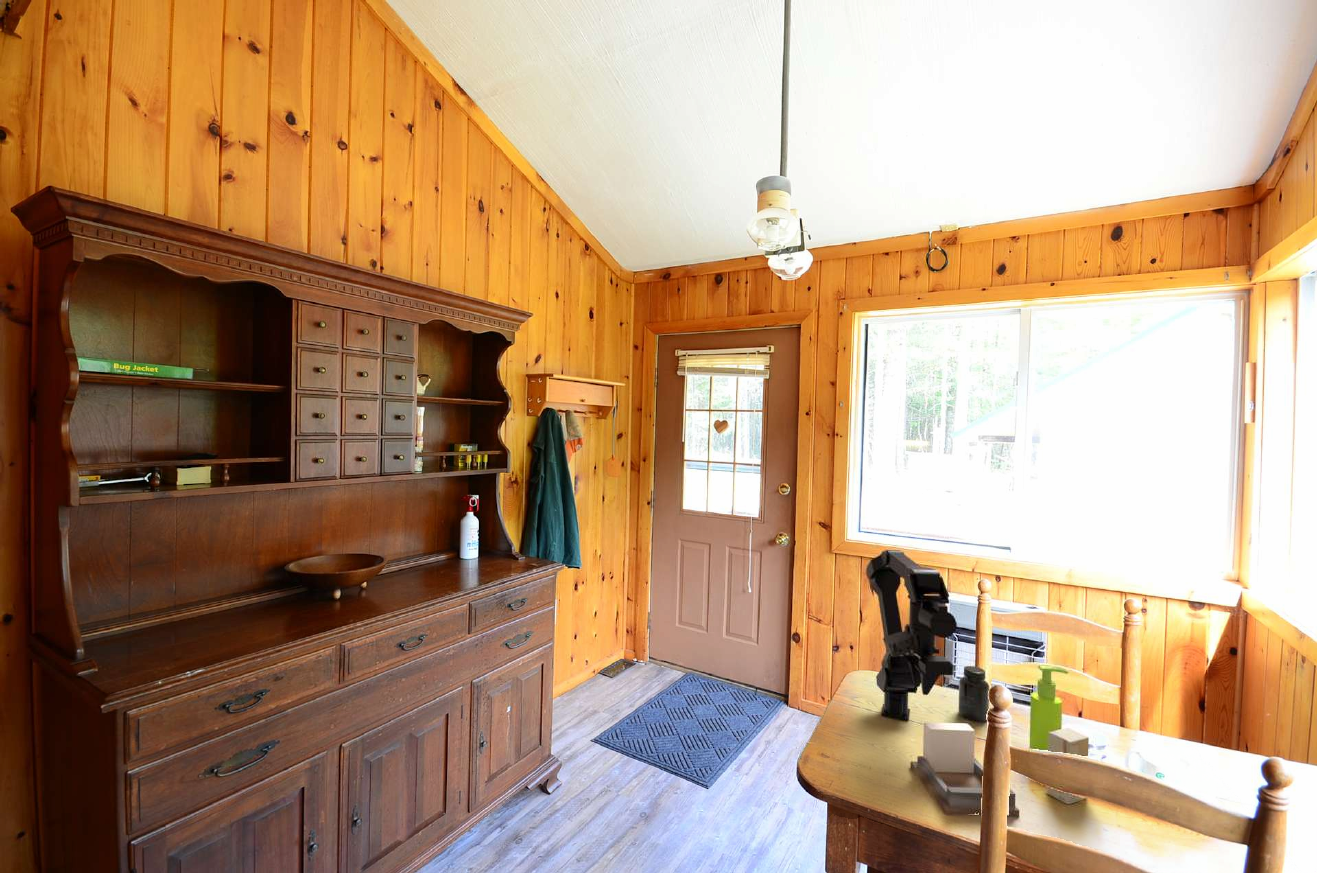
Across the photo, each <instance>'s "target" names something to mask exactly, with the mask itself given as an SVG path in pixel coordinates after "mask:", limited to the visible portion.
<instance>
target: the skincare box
mask: <svg viewBox="0 0 1317 873" xmlns="http://www.w3.org/2000/svg"><path fill="white" fill-rule="evenodd" d="M1089 738H1090V737H1089V736H1087V735H1084V734H1083V733H1080V732H1078V731H1076V730H1073V729H1071V728H1069V727H1065V728H1061V730H1056V731H1052V732H1049V737H1048V751H1051V752H1063V753H1070V754H1077V755H1081V756H1088V757H1089ZM1046 793H1047V794H1048V795H1050V796H1052V797H1054V798H1055V799H1057V800H1059V801H1061V802H1062V803H1065V804H1067V805H1070V804H1074V803H1076V802H1081V801H1082V800H1083V801H1084V800H1087V798H1081V797H1079V796H1075V795H1072V794H1069V793H1064V792H1061V791H1057V790H1055V789H1051V788H1050V787H1047V786H1046Z"/></svg>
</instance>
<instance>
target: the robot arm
mask: <svg viewBox="0 0 1317 873" xmlns="http://www.w3.org/2000/svg"><path fill="white" fill-rule="evenodd" d="M865 574H866V577H867V579H868V582H869V586H870V588H871V589H872V591H874V593H875V594H876V595H877V600H878V605H879V613H880V619H881V625H882V633H883V638H882V641H883V644H884V646H885V654H884V656H883V658H882V660H881V668H880V670H879V672H878V673H877V674H876V676H875V677H876V686H877V687H878V688H879V689H880V690H881V692H882V693H883V695H884V696H883V703H882V708H881V716H882V717H889V718H894V719H898V720H902V719H903V721H910V715H911V714H910V713H911V709H910V708H909V693H910V694H911V693H912V694H917V693H918V688H920V686H921V692H922V693H921V694H922V695H924V696H928V695H929V694H930V692H931V690H932V689H933V687H934V686H935V684H936V682H937V681H938V680H939V678H940V677H941V676H954V674H955V665H954V664H953V663H951V661H950V660H949V659H947V658H946V657H945V656H943V655H939V654H940V649H939V648H938V647H937V646H936V645H937V643H936V642H937V639H936V638H937V637H938V638H941V639H946V638H949V637H951V636H952V635H954V634H955V632H956V630H957V627H958V623H957V620H956V618H955V616H954V615H953V614H952V613H951V612H949V607H948V604H950V600H949V599H950V598H949V597H950V595H949V591H948V589H947V586H946V584H945V581H944V578H943V576H942V575H941V573H940V571H939V570H937V569H936V568H932V567H928V566H922V565H919V564H918V563H917V562H915V561H914V560H913V559H911V558H910V557H909V556H907V555H906V554H905V552H904V551H902V550H900V549H899V550H897V549H885V550H883V551H882V552H881V553H880V554H879V555H877V556H876V557H874V558H872V559H870V561H869V562H868V564H867V565H866V569H865ZM902 579H903V581H904V582H903V584H904V585H903V586H904V587H905V589H906V592H907V593H908V595H907V599H909V613H908V614H909V618H908V619H909V620H908V622H909V623H906V624H905V625H904V630H903V627H902V626H903V624H902V620H901V613H900V608H899V601H898V596H897V593H898V591H899V588H900V586H901V584H902ZM946 604H947V605H946ZM934 654H936V655H934Z"/></svg>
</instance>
